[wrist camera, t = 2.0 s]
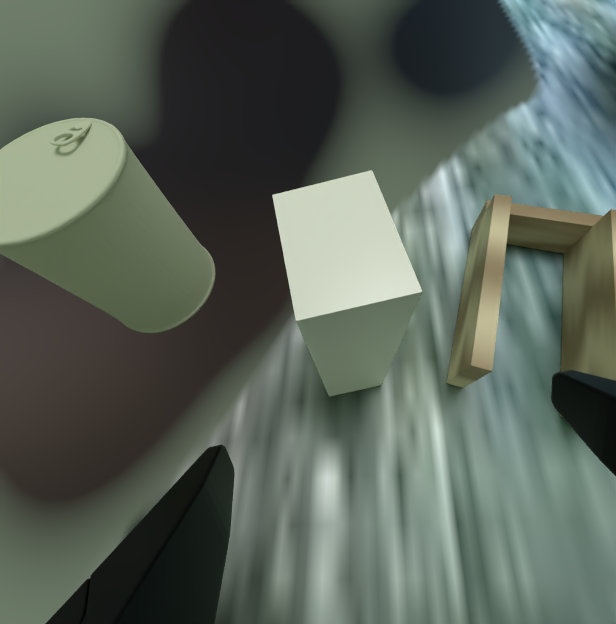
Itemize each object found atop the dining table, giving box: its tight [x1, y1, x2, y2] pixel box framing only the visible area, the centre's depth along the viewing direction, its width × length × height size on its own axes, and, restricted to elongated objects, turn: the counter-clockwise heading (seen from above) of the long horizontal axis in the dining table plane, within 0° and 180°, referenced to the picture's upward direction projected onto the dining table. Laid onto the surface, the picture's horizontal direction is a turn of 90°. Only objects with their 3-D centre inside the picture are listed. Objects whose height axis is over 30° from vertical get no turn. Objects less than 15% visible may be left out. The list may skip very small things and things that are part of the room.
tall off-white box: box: [273, 171, 422, 397], centre depth 15 cm, size 5×4×13 cm
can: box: [0, 118, 215, 333], centre depth 21 cm, size 9×9×12 cm
